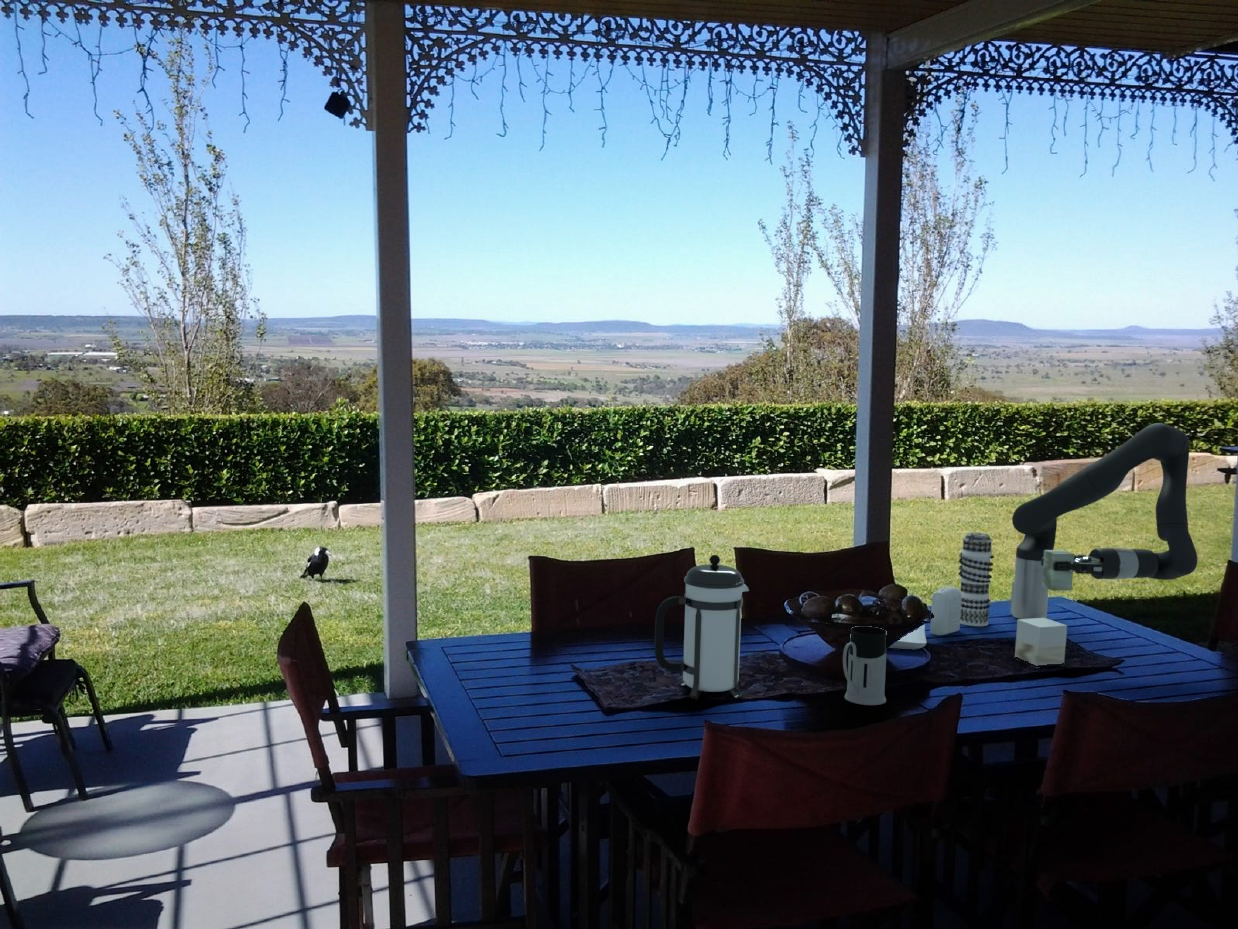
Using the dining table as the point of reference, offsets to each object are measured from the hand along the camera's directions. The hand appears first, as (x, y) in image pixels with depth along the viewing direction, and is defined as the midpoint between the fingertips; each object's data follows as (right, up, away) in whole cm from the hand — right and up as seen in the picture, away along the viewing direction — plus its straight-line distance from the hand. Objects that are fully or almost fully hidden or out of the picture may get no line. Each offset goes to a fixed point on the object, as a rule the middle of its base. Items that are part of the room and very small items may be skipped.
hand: (1048, 564), depth 267 cm
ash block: (-2, -24, +1) cm, 24 cm away
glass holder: (-53, -26, -33) cm, 68 cm away
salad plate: (-36, -22, +18) cm, 46 cm away
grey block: (-2, -19, 0) cm, 19 cm away
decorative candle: (-6, -20, +39) cm, 44 cm away
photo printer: (-17, -21, +27) cm, 38 cm away
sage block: (+2, -6, +1) cm, 7 cm away
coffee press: (-86, -25, -29) cm, 94 cm away
